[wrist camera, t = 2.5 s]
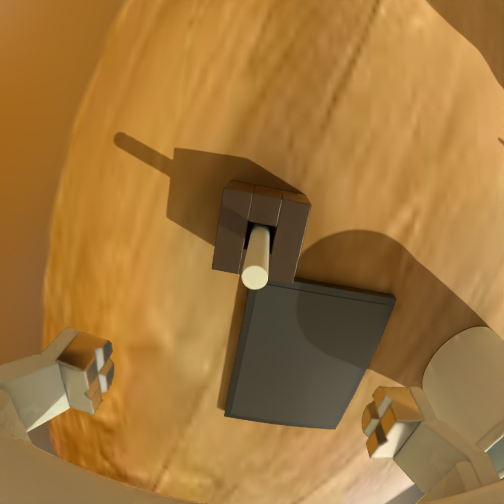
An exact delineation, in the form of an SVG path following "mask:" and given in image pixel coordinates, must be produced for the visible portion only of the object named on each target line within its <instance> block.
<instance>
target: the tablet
mask: <svg viewBox="0 0 504 504" xmlns="http://www.w3.org/2000/svg"><path fill="white" fill-rule="evenodd" d="M395 301H396V297H395V296H394V295H392V294H386V293H380V292H375V291H369V290H363V289H357V288H351V287H346V286H340V285H334V284H329V283H323V282H317V281H312V280H306V279H301V278H295V277H294V281H293V284H289V283H284V282H278V281H273V280H268V281H267V283H266V285H265V286H264V287H262V288H260V289H250V288H249V291H248V296H247V301H246V307H245V312H244V317H243V322H242V327H241V332H240V337H239V342H238V347H237V353H236V358H235V363H234V368H233V373H232V378H231V383H230V388H229V393H228V398H227V403H226V408H225V414H224V416H225V417H231V418H236V419H243V420H249V421H256V422H263V423H270V424H278V425H287V426H296V427H307V428H320V429H336V427H337V425H338V424H339V422H340V420H341V418H342V416H343V415H344V413H345V411H346V409H347V407H348V405H349V403H350V401H351V399H352V398H353V396H354V394H355V392H356V390H357V388H358V386H359V384H360V382H361V380H362V378H363V375H364V373H365V371H366V369H367V367H368V365H369V363H370V361H371V359H372V356H373V354H374V352H375V350H376V347H377V345H378V343H379V341H380V338H381V336H382V334H383V331H384V329H385V326H386V324H387V322H388V319H389V317H390V314H391V312H392V309H393V307H394V304H395Z"/></svg>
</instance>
